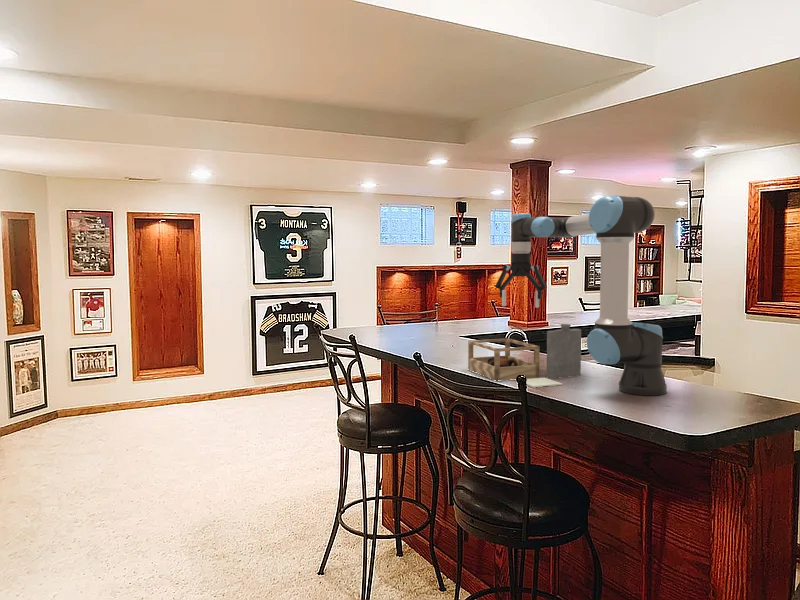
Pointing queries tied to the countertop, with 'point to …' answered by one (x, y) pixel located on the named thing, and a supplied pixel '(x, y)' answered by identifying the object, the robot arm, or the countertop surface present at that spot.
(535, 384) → the sage board
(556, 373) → the hip flask
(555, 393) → the countertop surface
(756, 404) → the countertop surface
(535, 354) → the oak crate
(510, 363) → the pottery mug
